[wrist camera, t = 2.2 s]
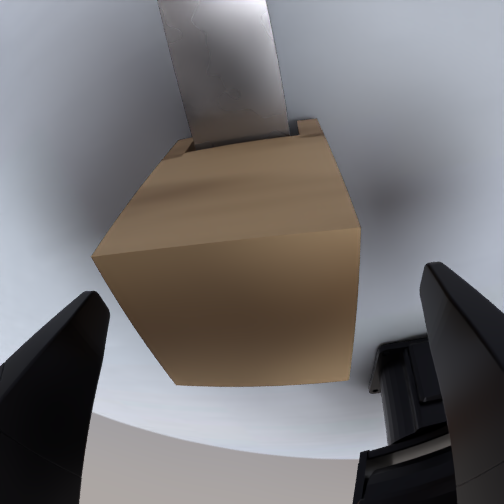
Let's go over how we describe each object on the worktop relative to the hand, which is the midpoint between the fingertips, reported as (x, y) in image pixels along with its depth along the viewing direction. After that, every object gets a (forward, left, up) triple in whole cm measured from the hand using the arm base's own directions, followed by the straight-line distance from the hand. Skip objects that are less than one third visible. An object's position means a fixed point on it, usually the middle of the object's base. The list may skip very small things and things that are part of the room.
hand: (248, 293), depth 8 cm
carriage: (0, 0, -6) cm, 6 cm away
